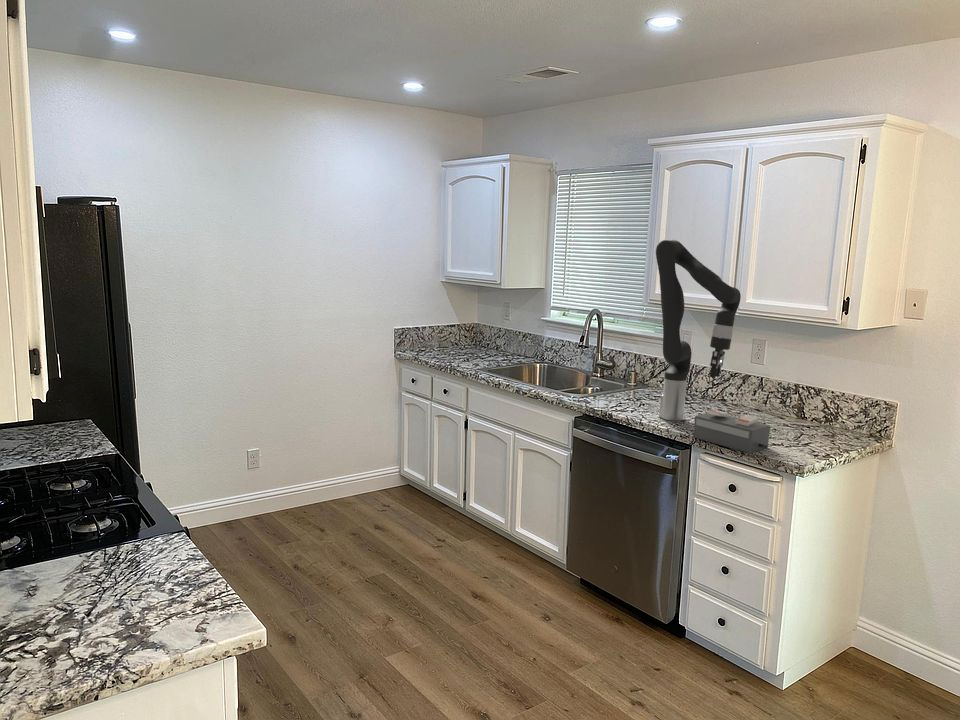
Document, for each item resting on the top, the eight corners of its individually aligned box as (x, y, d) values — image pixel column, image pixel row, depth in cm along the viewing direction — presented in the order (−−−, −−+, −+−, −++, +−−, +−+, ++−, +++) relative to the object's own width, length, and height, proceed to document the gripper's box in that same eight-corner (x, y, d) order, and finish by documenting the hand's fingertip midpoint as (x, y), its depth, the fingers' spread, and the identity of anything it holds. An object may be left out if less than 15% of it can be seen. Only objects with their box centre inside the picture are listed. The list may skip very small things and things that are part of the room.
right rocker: (735, 423, 264) (735, 419, 264) (745, 417, 269) (745, 414, 268) (747, 426, 261) (747, 422, 260) (758, 420, 265) (758, 417, 264)
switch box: (692, 437, 276) (694, 416, 274) (711, 432, 284) (713, 411, 282) (756, 455, 255) (759, 432, 254) (775, 449, 263) (777, 427, 262)
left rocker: (707, 413, 273) (707, 409, 273) (717, 413, 278) (717, 410, 278) (718, 415, 269) (719, 412, 269) (728, 416, 274) (729, 413, 274)
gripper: (715, 335, 292) (708, 374, 294) (708, 335, 280) (701, 376, 281) (734, 338, 289) (727, 377, 290) (728, 338, 276) (721, 379, 278)
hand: (714, 376), depth 286 cm, fingers open, 8 cm apart
